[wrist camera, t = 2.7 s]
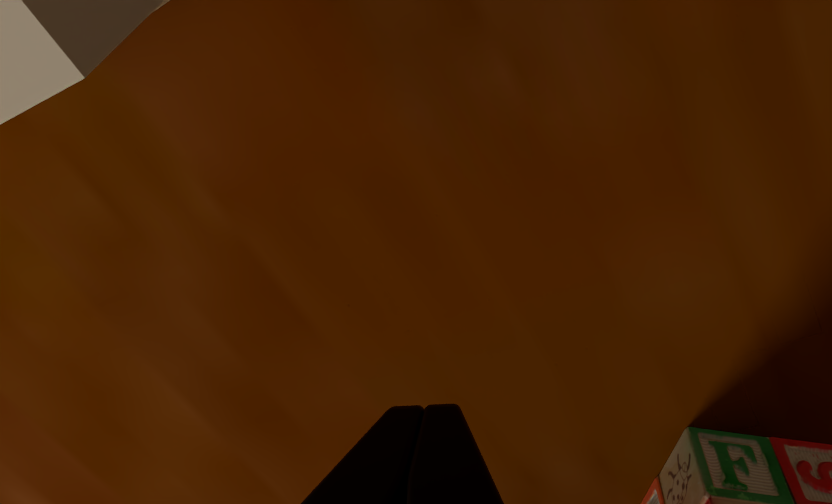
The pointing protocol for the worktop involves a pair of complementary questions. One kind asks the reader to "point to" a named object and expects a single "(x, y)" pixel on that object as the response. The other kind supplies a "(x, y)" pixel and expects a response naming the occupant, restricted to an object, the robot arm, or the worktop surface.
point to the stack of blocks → (743, 471)
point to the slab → (58, 44)
